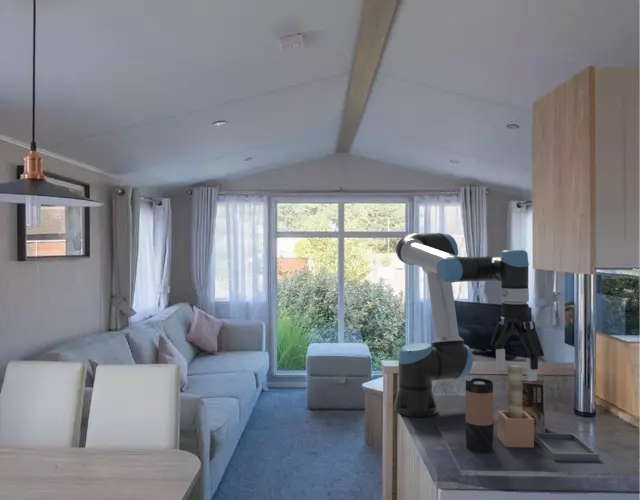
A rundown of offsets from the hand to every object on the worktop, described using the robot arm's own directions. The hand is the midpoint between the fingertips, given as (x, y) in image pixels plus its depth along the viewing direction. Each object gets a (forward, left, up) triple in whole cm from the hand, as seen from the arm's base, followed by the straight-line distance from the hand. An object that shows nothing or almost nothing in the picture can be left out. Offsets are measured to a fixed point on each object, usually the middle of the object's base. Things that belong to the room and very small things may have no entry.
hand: (515, 375), depth 156 cm
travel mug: (+5, -12, -21) cm, 24 cm away
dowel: (0, 0, -20) cm, 20 cm away
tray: (+5, +12, -21) cm, 24 cm away
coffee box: (-12, +8, -21) cm, 25 cm away
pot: (0, 0, -21) cm, 21 cm away
